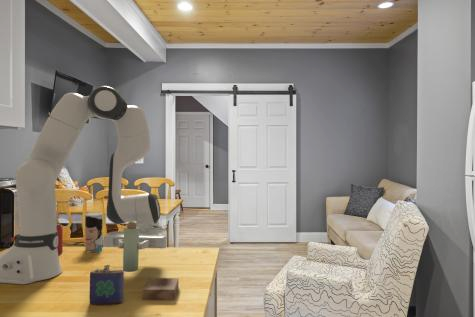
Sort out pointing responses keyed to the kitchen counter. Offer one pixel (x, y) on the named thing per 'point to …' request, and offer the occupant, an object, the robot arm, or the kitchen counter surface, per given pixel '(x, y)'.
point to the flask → (106, 286)
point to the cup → (93, 231)
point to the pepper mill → (130, 247)
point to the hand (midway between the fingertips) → (130, 246)
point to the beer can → (59, 237)
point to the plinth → (160, 289)
